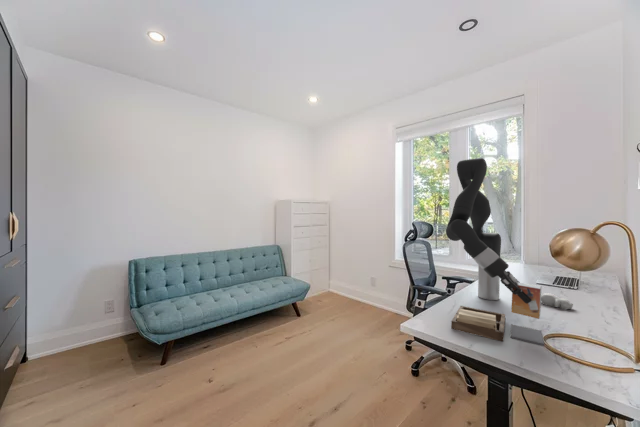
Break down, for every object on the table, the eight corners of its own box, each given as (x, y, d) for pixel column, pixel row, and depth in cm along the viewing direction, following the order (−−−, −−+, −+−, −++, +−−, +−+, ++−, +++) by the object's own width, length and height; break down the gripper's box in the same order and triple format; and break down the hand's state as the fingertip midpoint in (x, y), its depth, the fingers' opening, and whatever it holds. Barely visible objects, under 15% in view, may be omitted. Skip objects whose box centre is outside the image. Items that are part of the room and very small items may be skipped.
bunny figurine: (570, 303, 116) (528, 291, 128) (568, 314, 117) (527, 301, 128) (575, 299, 122) (534, 287, 134) (573, 309, 123) (532, 297, 134)
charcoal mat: (511, 325, 103) (511, 324, 103) (541, 332, 97) (541, 330, 97) (510, 337, 93) (510, 335, 93) (543, 345, 88) (543, 343, 88)
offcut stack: (458, 323, 105) (458, 308, 105) (496, 331, 98) (496, 315, 98) (456, 329, 100) (457, 313, 100) (496, 338, 93) (496, 321, 93)
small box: (511, 312, 96) (511, 283, 96) (513, 308, 100) (513, 281, 100) (539, 319, 90) (540, 288, 90) (540, 314, 94) (541, 285, 94)
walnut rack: (460, 312, 116) (460, 305, 116) (505, 321, 106) (505, 314, 106) (451, 328, 100) (451, 320, 100) (502, 341, 90) (503, 332, 90)
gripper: (497, 258, 94) (540, 299, 87) (499, 253, 106) (537, 288, 99) (480, 271, 97) (519, 311, 90) (483, 265, 109) (519, 300, 102)
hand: (528, 299), depth 95 cm, fingers closed on small box, 6 cm apart
